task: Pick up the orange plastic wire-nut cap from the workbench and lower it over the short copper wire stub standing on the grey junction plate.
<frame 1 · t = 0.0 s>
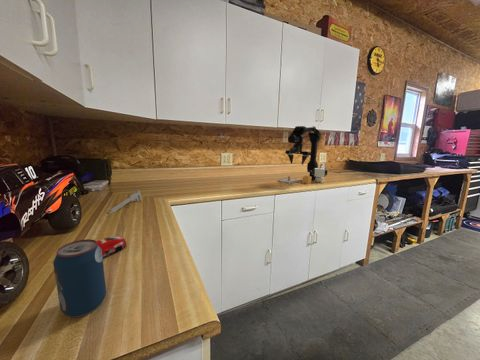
hand: (296, 164, 158), 15 cm above the counter, tool pointing down, fingers open, 9 cm apart
wire nut cap: (306, 182, 165), on the counter
race car: (100, 256, 56), on the counter
junction plate: (288, 181, 168), on the counter
soda can: (85, 306, 39), on the counter
pneumatic valve: (318, 181, 172), on the counter, touching arm
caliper: (126, 207, 96), on the counter
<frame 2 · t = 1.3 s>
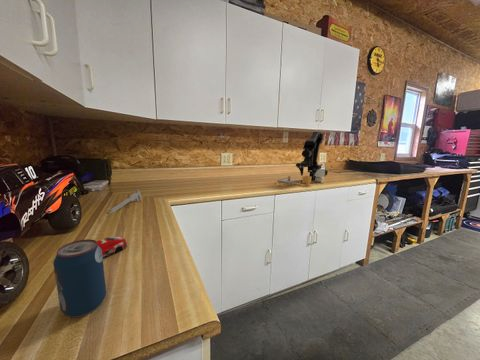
hand: (307, 176, 164), 5 cm above the counter, tool pointing down, fingers open, 9 cm apart
pneumatic valve: (318, 181, 172), on the counter
everything else where it was.
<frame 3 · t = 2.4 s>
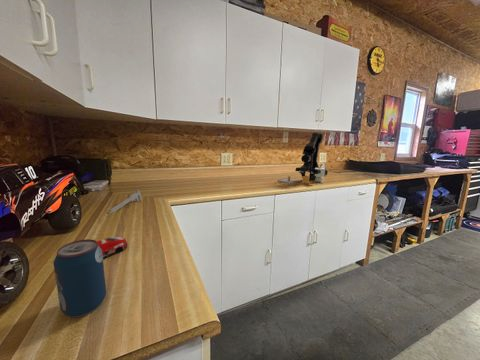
hand: (306, 181, 165), 1 cm above the counter, tool pointing down, fingers closed on wire nut cap, 5 cm apart
wire nut cap: (306, 182, 165), on the counter, touching gripper
pneumatic valve: (318, 181, 172), on the counter, touching arm
everything else where it was.
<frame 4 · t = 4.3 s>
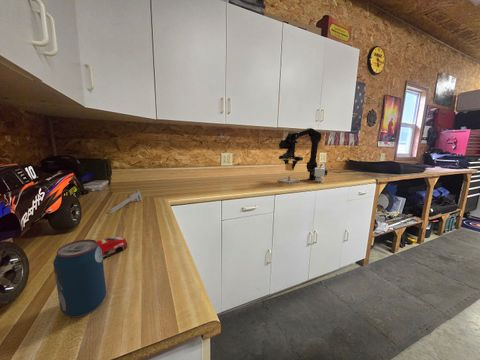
hand: (289, 168, 166), 10 cm above the counter, tool pointing down, fingers closed on wire nut cap, 5 cm apart
wire nut cap: (289, 170, 166), point 9 cm above the counter, touching gripper
everything else where it was.
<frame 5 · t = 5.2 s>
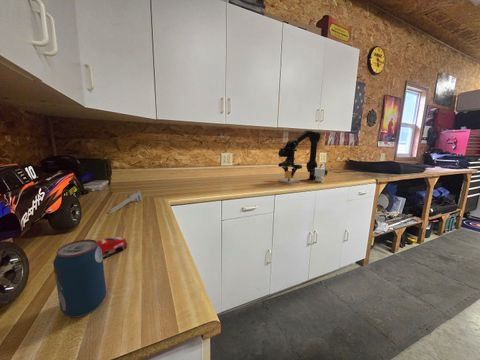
hand: (289, 176, 167), 4 cm above the counter, tool pointing down, fingers closed on wire nut cap, 5 cm apart
wire nut cap: (289, 177, 168), point 3 cm above the counter, touching gripper
everything else where it was.
when the fingers open (2 cm above the counter, at t = 5.9 s): wire nut cap stays where it is, resting on junction plate.
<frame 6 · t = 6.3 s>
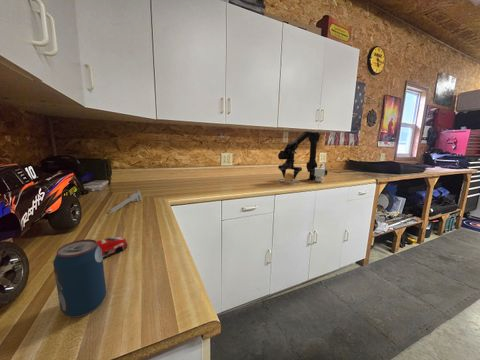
hand: (288, 178, 168), 2 cm above the counter, tool pointing down, fingers open, 9 cm apart
wire nut cap: (288, 180, 168), point 1 cm above the counter, touching junction plate
everything else where it was.
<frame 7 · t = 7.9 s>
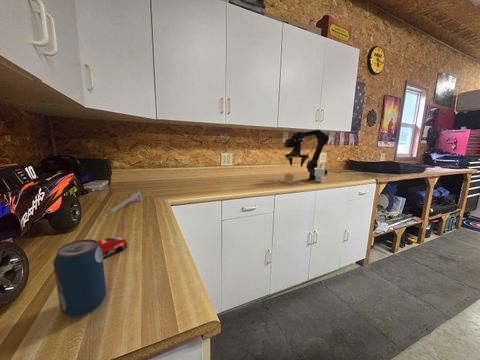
hand: (296, 166, 172), 12 cm above the counter, tool pointing down, fingers open, 9 cm apart
pneumatic valve: (318, 181, 172), on the counter
everything else where it was.
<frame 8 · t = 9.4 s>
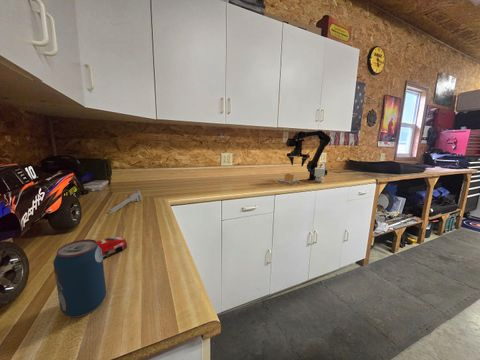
hand: (296, 165, 174), 12 cm above the counter, tool pointing down, fingers open, 9 cm apart
nothing on the counter moved.
at the end: wire nut cap 0.1 cm from the junction plate (horizontally); wire nut cap point 0.8 cm above the counter; the gripper is holding nothing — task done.
